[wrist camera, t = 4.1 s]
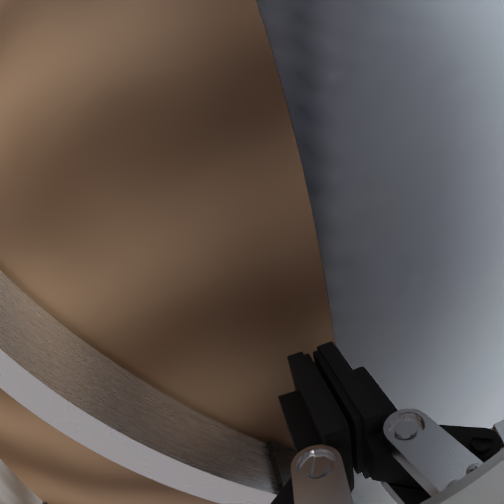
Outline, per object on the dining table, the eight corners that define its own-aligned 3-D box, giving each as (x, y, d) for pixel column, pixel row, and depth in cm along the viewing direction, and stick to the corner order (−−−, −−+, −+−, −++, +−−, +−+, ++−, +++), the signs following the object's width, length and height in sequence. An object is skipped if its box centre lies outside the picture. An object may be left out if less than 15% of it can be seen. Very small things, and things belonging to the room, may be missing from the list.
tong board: (-145, 161, 6) (-192, 171, 1) (222, -67, 8) (236, -148, 3) (28, 509, 15) (16, 552, 10) (343, 478, 16) (371, 537, 11)
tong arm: (-90, 214, 7) (-134, 228, 4) (-77, 171, 7) (-125, 178, 4) (283, 479, 13) (297, 524, 10) (314, 457, 13) (333, 502, 10)
